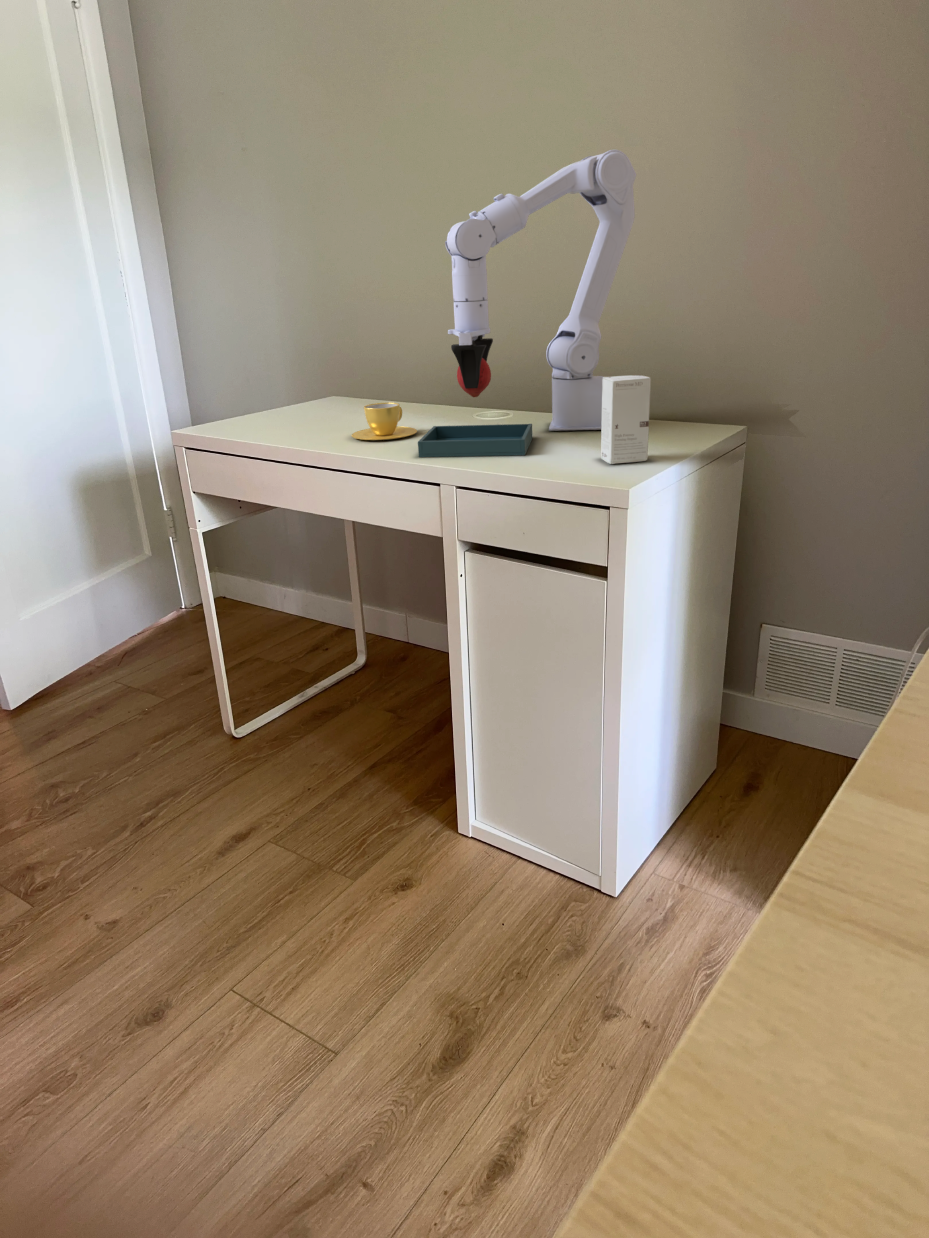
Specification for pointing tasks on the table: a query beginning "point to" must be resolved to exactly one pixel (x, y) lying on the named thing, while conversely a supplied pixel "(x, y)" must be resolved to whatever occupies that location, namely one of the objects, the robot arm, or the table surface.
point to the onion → (483, 380)
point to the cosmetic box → (625, 418)
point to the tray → (476, 440)
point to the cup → (383, 423)
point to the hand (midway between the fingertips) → (474, 385)
